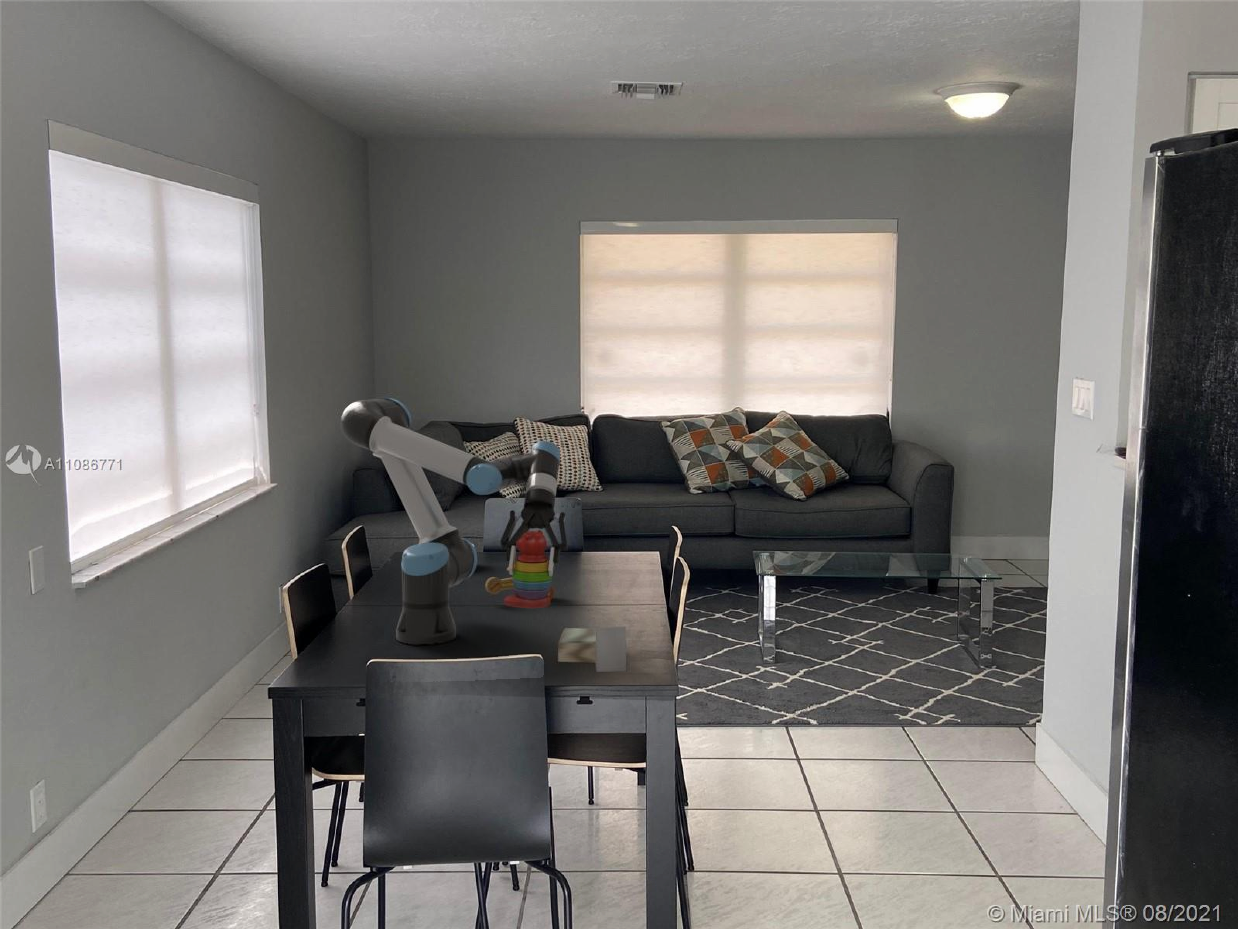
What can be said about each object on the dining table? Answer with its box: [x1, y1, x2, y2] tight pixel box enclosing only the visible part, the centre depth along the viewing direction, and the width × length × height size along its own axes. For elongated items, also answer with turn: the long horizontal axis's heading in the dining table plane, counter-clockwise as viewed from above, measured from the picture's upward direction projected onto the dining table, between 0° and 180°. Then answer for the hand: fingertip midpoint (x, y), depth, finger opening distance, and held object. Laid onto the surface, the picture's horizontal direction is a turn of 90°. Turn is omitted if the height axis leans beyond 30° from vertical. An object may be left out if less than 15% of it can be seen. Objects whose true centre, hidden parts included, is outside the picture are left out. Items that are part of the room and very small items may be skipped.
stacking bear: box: [503, 529, 553, 609], centre depth 261 cm, size 11×10×18 cm
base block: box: [557, 627, 596, 664], centre depth 263 cm, size 12×12×5 cm
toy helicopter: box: [484, 563, 554, 601], centre depth 314 cm, size 8×21×14 cm, turn 122°
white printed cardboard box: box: [595, 626, 627, 673], centre depth 252 cm, size 4×7×10 cm, turn 96°
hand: (530, 572), depth 257 cm, fingers closed on stacking bear, 9 cm apart
